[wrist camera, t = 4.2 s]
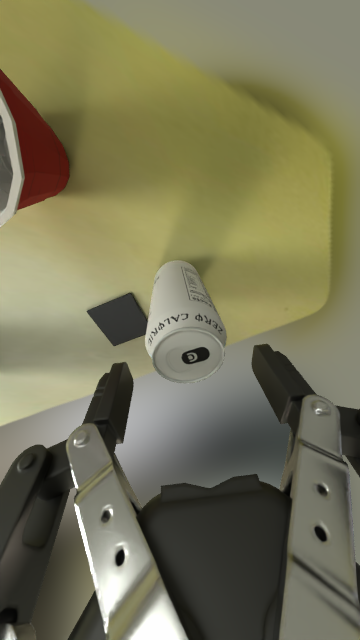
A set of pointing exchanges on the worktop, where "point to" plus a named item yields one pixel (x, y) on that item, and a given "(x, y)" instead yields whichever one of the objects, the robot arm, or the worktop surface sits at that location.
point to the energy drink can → (183, 326)
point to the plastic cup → (26, 154)
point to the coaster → (120, 319)
